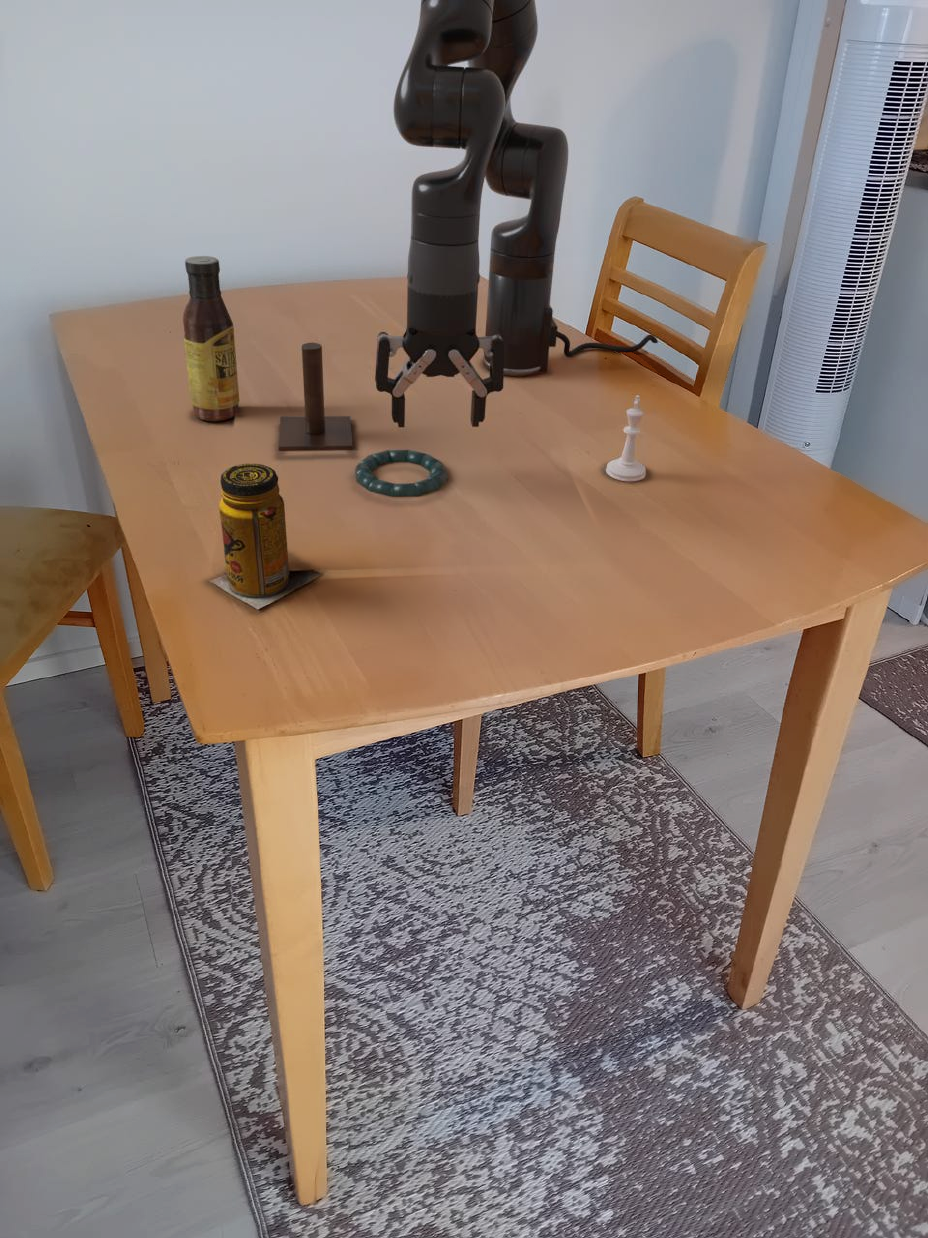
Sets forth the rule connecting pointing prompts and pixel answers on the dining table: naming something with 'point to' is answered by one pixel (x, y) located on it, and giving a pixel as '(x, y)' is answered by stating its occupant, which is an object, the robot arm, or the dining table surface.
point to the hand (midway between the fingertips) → (437, 424)
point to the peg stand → (314, 413)
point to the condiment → (256, 537)
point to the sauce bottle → (209, 344)
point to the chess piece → (629, 450)
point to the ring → (403, 489)
